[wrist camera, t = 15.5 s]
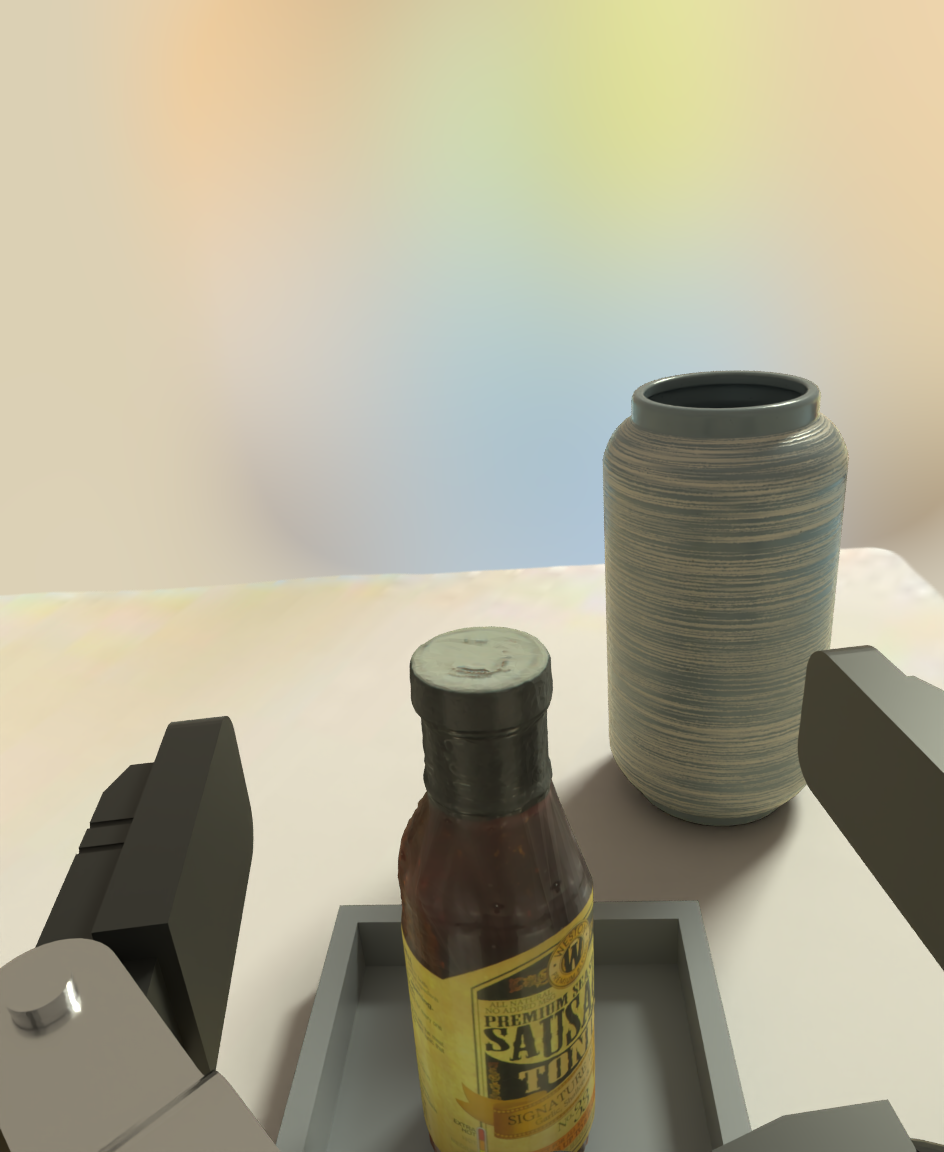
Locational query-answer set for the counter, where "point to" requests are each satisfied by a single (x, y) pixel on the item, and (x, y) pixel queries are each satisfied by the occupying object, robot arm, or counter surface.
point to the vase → (718, 586)
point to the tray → (621, 1034)
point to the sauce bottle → (495, 907)
